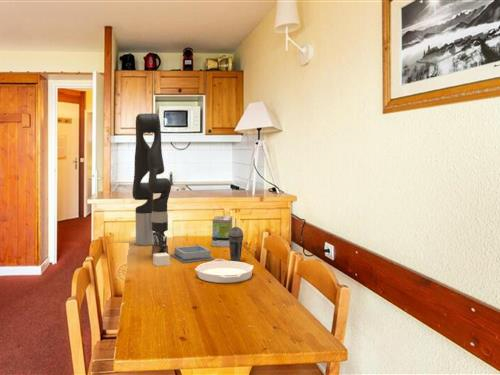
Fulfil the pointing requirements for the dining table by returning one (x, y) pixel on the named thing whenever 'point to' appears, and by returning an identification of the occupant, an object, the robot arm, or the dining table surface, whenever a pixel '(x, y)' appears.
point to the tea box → (221, 231)
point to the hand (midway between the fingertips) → (159, 255)
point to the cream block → (161, 259)
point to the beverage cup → (235, 243)
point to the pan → (224, 271)
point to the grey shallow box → (192, 254)
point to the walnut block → (156, 249)
